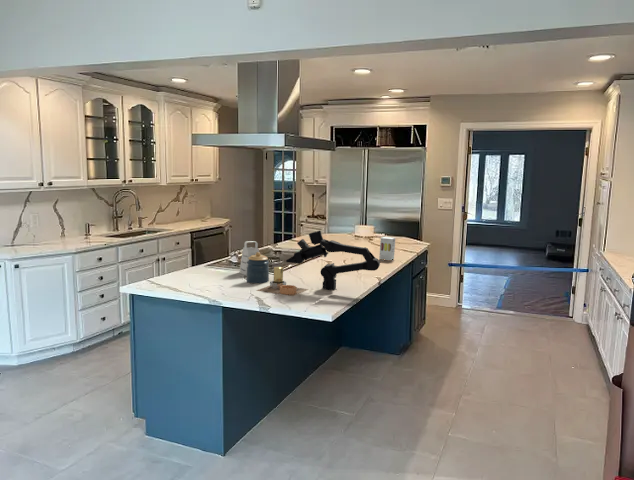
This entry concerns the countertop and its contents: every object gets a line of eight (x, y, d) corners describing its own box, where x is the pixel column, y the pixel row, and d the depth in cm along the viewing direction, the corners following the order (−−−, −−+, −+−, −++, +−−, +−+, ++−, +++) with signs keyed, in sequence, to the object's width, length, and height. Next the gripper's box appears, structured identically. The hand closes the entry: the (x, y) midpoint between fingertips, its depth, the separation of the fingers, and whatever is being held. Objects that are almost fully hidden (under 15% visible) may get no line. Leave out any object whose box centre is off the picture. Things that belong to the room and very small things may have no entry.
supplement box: (378, 260, 384) (380, 237, 382) (382, 258, 393) (383, 236, 390) (391, 261, 381) (392, 238, 378) (394, 259, 389) (395, 237, 387)
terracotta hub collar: (298, 291, 272) (298, 286, 271) (291, 295, 265) (291, 289, 264) (284, 289, 275) (285, 284, 275) (277, 292, 268) (277, 287, 268)
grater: (261, 274, 318) (262, 242, 315) (245, 275, 312) (246, 243, 310) (254, 271, 327) (255, 240, 324) (239, 272, 321) (239, 240, 318)
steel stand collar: (288, 286, 282) (288, 281, 282) (280, 289, 275) (281, 284, 275) (275, 285, 286) (275, 279, 285) (267, 287, 278) (267, 282, 278)
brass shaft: (284, 287, 282) (284, 267, 280) (279, 288, 277) (280, 268, 276) (276, 285, 284) (276, 266, 282) (271, 287, 279) (272, 267, 278)
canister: (242, 281, 296) (242, 251, 294) (261, 279, 304) (262, 249, 302) (253, 285, 286) (254, 254, 284) (273, 283, 294) (274, 253, 292)
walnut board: (308, 291, 279) (308, 289, 279) (293, 298, 263) (293, 296, 262) (273, 285, 288) (273, 284, 288) (256, 292, 272) (256, 290, 272)
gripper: (313, 235, 289) (288, 243, 293) (305, 239, 271) (279, 248, 275) (319, 254, 290) (294, 262, 294) (312, 259, 272) (285, 268, 276)
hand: (288, 259), depth 285 cm, fingers open, 9 cm apart
